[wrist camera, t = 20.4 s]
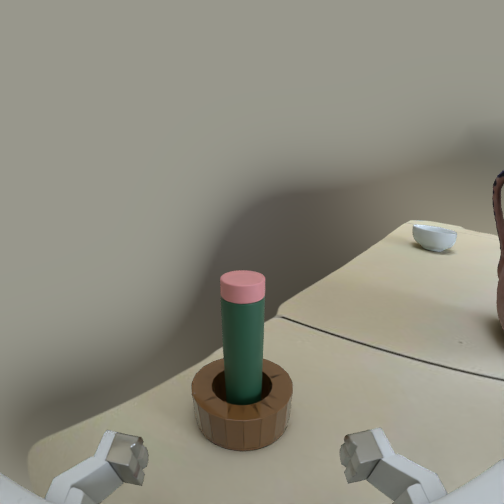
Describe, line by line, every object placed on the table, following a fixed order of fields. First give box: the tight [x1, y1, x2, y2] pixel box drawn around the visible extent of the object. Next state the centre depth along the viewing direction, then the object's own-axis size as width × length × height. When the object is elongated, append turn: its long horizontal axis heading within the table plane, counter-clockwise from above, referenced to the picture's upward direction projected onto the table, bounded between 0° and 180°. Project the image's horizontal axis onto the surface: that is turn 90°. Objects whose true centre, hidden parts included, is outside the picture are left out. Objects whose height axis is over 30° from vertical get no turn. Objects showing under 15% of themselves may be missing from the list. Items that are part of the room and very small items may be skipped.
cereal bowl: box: [413, 225, 457, 252], centre depth 78 cm, size 17×17×7 cm
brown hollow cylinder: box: [191, 358, 293, 451], centre depth 20 cm, size 8×8×4 cm
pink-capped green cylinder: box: [220, 271, 265, 405], centre depth 19 cm, size 3×3×13 cm
